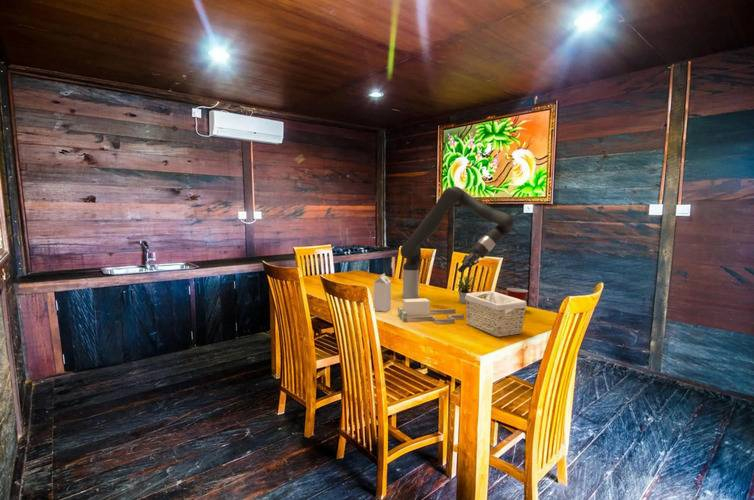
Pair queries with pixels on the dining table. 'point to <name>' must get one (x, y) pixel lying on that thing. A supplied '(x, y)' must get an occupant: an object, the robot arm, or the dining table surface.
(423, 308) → the cream box
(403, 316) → the trap lane
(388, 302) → the milk carton
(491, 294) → the storage basket
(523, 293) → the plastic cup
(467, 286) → the house plant
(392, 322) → the dining table surface
